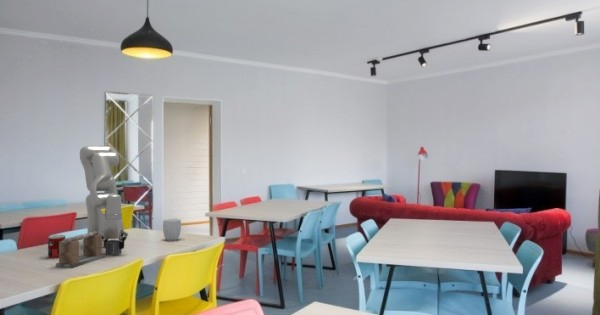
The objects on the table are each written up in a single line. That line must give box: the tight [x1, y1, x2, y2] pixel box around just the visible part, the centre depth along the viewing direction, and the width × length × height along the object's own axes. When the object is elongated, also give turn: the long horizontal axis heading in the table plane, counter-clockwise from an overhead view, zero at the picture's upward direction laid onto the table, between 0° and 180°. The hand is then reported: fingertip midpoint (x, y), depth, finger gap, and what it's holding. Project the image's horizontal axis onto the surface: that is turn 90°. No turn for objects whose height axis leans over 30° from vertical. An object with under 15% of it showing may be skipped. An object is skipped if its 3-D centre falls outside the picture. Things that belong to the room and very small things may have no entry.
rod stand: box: [55, 231, 106, 269], centre depth 214 cm, size 10×22×14 cm, turn 166°
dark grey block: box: [104, 239, 123, 257], centre depth 230 cm, size 6×5×7 cm
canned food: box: [47, 234, 66, 259], centre depth 223 cm, size 8×8×11 cm
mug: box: [162, 217, 182, 242], centre depth 270 cm, size 15×11×13 cm
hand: (114, 248), depth 229 cm, fingers open, 9 cm apart
